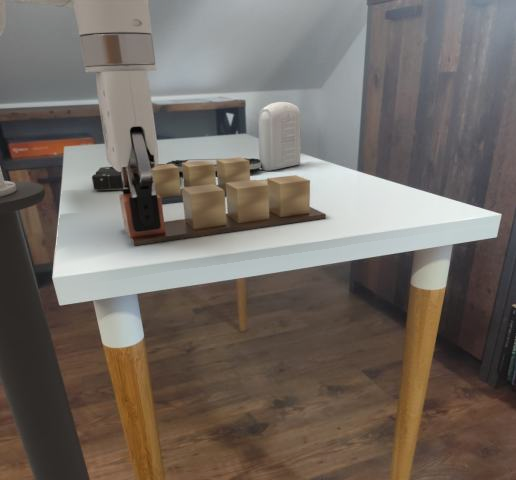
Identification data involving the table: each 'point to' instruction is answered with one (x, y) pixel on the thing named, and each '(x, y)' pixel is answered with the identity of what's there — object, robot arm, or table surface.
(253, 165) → the gaming console
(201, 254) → the table surface
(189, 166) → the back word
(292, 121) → the white rounded slab
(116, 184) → the disk drive
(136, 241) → the front word
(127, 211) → the reddish wooden cube
